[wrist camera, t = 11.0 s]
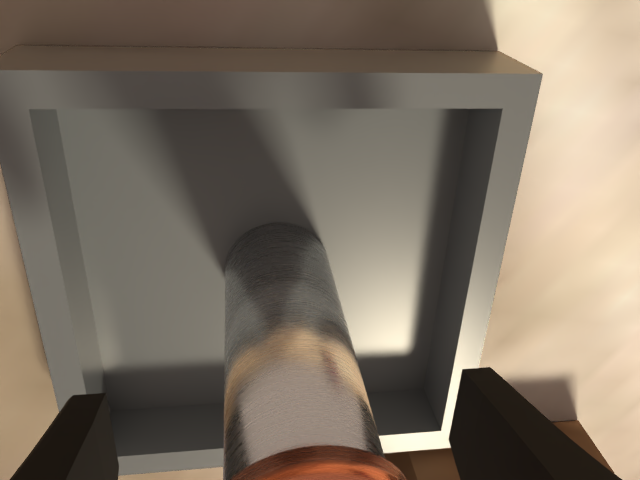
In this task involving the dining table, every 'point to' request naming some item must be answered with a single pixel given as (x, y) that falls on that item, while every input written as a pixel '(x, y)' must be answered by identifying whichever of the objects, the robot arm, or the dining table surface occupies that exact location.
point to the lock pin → (292, 367)
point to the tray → (258, 218)
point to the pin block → (439, 465)
